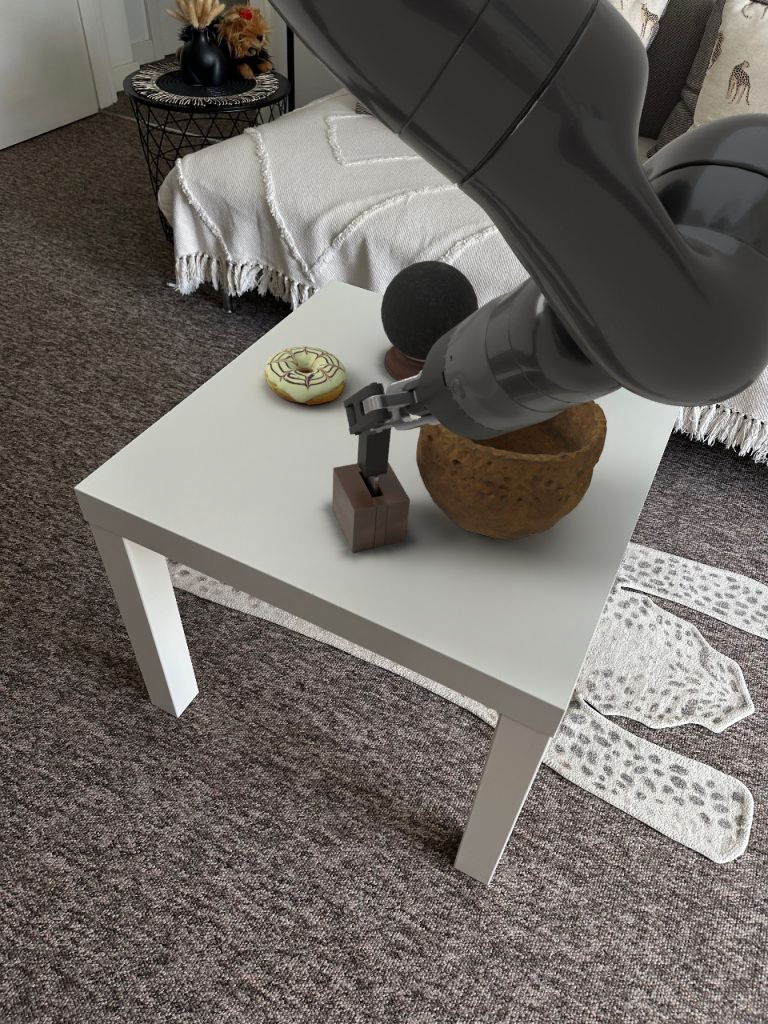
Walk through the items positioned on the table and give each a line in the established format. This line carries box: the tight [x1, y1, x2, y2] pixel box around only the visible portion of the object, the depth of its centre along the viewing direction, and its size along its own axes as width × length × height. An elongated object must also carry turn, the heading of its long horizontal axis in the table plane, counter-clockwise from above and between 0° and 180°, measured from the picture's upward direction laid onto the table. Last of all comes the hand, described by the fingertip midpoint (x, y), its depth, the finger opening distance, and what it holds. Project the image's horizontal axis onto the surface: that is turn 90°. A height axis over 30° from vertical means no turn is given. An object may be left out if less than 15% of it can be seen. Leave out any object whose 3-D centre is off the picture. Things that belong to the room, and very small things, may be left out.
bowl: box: [415, 400, 608, 540], centre depth 75 cm, size 19×19×15 cm
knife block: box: [331, 461, 411, 553], centre depth 75 cm, size 6×7×6 cm
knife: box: [356, 411, 392, 498], centre depth 72 cm, size 2×3×16 cm
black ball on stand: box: [380, 260, 479, 381], centre depth 96 cm, size 13×13×15 cm
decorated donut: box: [263, 346, 348, 406], centre depth 94 cm, size 10×11×4 cm
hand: (414, 414), depth 58 cm, fingers open, 8 cm apart
